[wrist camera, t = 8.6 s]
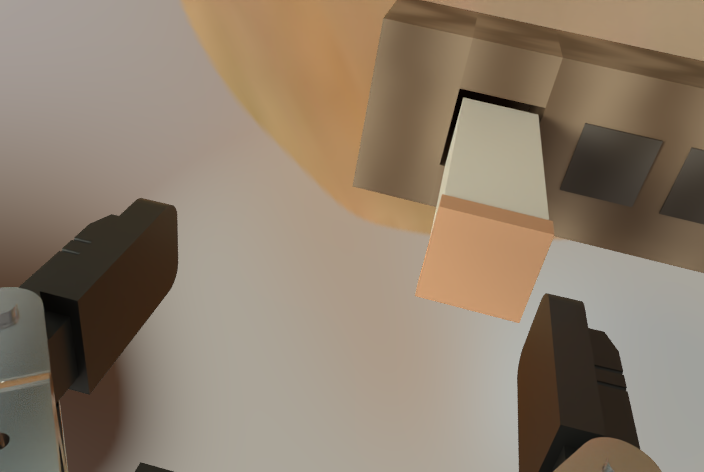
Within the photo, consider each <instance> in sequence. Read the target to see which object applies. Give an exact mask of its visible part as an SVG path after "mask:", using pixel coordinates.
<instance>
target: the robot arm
mask: <svg viewBox="0 0 704 472" xmlns="http://www.w3.org/2000/svg"><path fill="white" fill-rule="evenodd" d="M177 234H178V233H177V211H176V208H175V207H174V206H173V205H169V204H164V203H160V202H156V201H151V200H147V199H143V198H139V199H137V200H136V201H135V202H134V203H133V204H132V205H131V206H129V207H128V208H127V209H126V210H125V211H124V212H123V213H122V214H121V215H120V216H116V215H109V216H107V217H104V218H102V219H100V220H98V221H96V222H93V223H91V224H89V225H88V226H87V227H86V228H85V229H83V230H82V231H81V232H80V233H79V234H78V235H77V236H76V237H75V239H74V240H71V241H70V242H69V243H68V244H67V245H66V246H64V247H63V249H62V251H59V252H58V253H57V254H56V255H54V256H53V257H52V258H51V259H50V260H49V261H48V262H47V263H45V264H44V265H43V266H42V267H41V268H40V269H39V270H38V271H36V272H35V273H34V274H33V275H32V276H31V277H30V278H29V279H28V280H26V281H25V282H24V283H23V284H22V285H21V286H20V287H19V288H15V287H10V288H9V287H6V288H0V472H68V467H67V459H66V450H65V442H64V434H63V425H62V417H61V409H60V403H59V400H60V398H61V397H62V396H63V395H64V394H65V392H66V391H67V390H68V389H71V390H75V391H79V392H82V393H86V394H91V392H92V391H93V390H94V388H95V387H96V386H97V384H98V383H99V382H100V381H101V379H102V378H103V377H104V375H105V374H106V373H107V371H108V370H109V369H110V368H111V366H112V365H113V364H114V362H115V361H116V360H117V358H118V357H119V356H120V355H121V353H122V352H123V351H124V349H125V348H126V347H127V345H128V344H129V343H130V342H131V340H132V339H133V338H134V336H135V335H136V334H137V332H138V331H139V330H140V329H141V327H142V326H143V325H144V323H145V322H146V321H147V319H148V318H149V317H150V316H151V314H152V313H153V312H154V310H155V309H156V308H157V306H158V305H159V304H160V303H161V301H162V300H163V299H164V297H165V296H166V295H167V293H168V292H169V291H170V289H171V287H172V285H173V283H174V280H175V278H176V274H177V269H178V235H177ZM622 373H623V369H622V365H621V360H620V356H619V351H618V350H617V349H616V348H615V346H614V345H613V343H612V342H611V340H610V339H609V338H608V336H607V335H606V334H605V332H602V331H598V330H593V329H590V328H588V324H587V318H586V312H585V307H584V304H583V302H582V301H577V300H573V299H569V298H564V297H560V296H556V295H551V294H545V295H544V296H543V298H542V300H541V302H540V305H539V307H538V310H537V313H536V315H535V318H534V320H533V323H532V326H531V328H530V331H529V333H528V336H527V339H526V342H525V344H524V347H523V349H522V353H521V356H520V361H519V366H518V375H517V384H518V385H517V386H518V440H519V441H518V442H519V472H661V470H660V469H659V467H658V466H657V465H656V463H655V462H654V461H653V460H652V459H651V458H650V457H649V456H648V455H646V454H645V453H644V452H643V451H641V450H640V446H639V442H638V437H637V433H636V428H635V423H634V419H633V415H632V410H631V405H630V401H629V397H628V392H627V391H626V388H627V387H626V383H625V378H624V375H622ZM135 472H173V471H169V470H166V469H162V468H158V467H155V466H151V465H148V464H144V463H140V464H139V466H138V467H137V469H136V471H135Z"/></svg>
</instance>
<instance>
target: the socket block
mask: <svg viewBox="0 0 704 472" xmlns="http://www.w3.org/2000/svg"><path fill="white" fill-rule="evenodd" d="M459 89H465V90H469V91H473V92H478V93H482V94H486V95H491V96H495V97H500V98H504V99H508V100H513V101H517V102H521V103H526V104H530V105H531V106H530V109H529V113H533V114H538V117H539V126H540V136H541V146H542V156H543V165H544V175H545V185H546V195H547V204H548V214H549V220H550V221H553V226H554V236H556V237H560V238H564V239H568V240H572V241H576V242H580V243H584V244H589V245H592V246H597V247H600V248H605V249H609V250H613V251H617V252H621V253H625V254H629V255H633V256H637V257H641V258H645V259H649V260H654V261H657V262H661V263H665V264H669V265H673V266H678V267H681V268H686V269H690V270H694V271H698V272H702V273H704V61H699V60H695V59H690V58H685V57H681V56H676V55H672V54H667V53H662V52H658V51H653V50H649V49H644V48H639V47H635V46H630V45H625V44H621V43H616V42H612V41H607V40H602V39H598V38H593V37H588V36H584V35H579V34H575V33H570V32H565V31H561V30H556V29H551V28H547V27H542V26H538V25H533V24H528V23H524V22H519V21H515V20H510V19H505V18H501V17H496V16H491V15H487V14H482V13H478V12H473V11H468V10H464V9H459V8H454V7H450V6H445V5H441V4H436V3H431V2H427V1H422V0H397V1H396V2H395V4H394V5H393V6H392V8H391V9H390V10H389V11H388V13H387V14H386V15H385V17H384V18H383V23H382V29H381V34H380V40H379V45H378V51H377V56H376V62H375V67H374V72H373V78H372V83H371V89H370V94H369V100H368V105H367V111H366V116H365V122H364V127H363V133H362V138H361V144H360V149H359V155H358V160H357V166H356V171H355V177H354V182H353V187H358V188H362V189H366V190H370V191H374V192H378V193H382V194H386V195H390V196H394V197H398V198H402V199H406V200H410V201H414V202H418V203H422V204H426V205H430V206H434V207H437V202H438V197H439V192H440V187H441V183H442V178H443V173H444V168H445V164H446V160H447V156H448V153H449V149H450V145H451V141H452V138H453V134H454V130H455V128H452V127H450V123H451V119H452V116H453V112H454V108H455V104H456V100H457V97H458V93H459Z"/></svg>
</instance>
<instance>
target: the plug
mask: <svg viewBox="0 0 704 472" xmlns="http://www.w3.org/2000/svg"><path fill="white" fill-rule="evenodd" d="M553 237H554V226H553V221H550V220H549V214H548V204H547V195H546V185H545V175H544V165H543V156H542V146H541V136H540V126H539V117H538V114H533V113H529V112H525V111H520V110H516V109H512V108H507V107H503V106H498V105H494V104H490V103H485V102H481V101H477V100H472V99H468V98H464V97H463V100H462V104H461V108H460V112H459V115H458V119H457V123H456V126H455V130H454V134H453V138H452V141H451V145H450V149H449V153H448V156H447V160H446V164H445V168H444V173H443V178H442V183H441V187H440V192H439V197H438V202H437V207H436V211H435V216H434V221H433V226H432V230H431V235H430V240H429V244H428V248H427V252H426V255H425V258H424V262H423V266H422V269H421V273H420V277H419V280H418V285H417V289H416V294H415V296H417V297H422V298H425V299H429V300H433V301H437V302H440V303H444V304H449V305H452V306H456V307H460V308H463V309H467V310H471V311H475V312H479V313H483V314H486V315H490V316H494V317H498V318H502V319H506V320H510V321H514V322H517V323H519V322H520V320H521V317H522V315H523V312H524V309H525V307H526V304H527V302H528V300H529V297H530V295H531V292H532V290H533V287H534V284H535V282H536V279H537V277H538V275H539V272H540V270H541V267H542V265H543V262H544V260H545V257H546V255H547V252H548V250H549V247H550V245H551V242H552V240H553Z"/></svg>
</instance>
